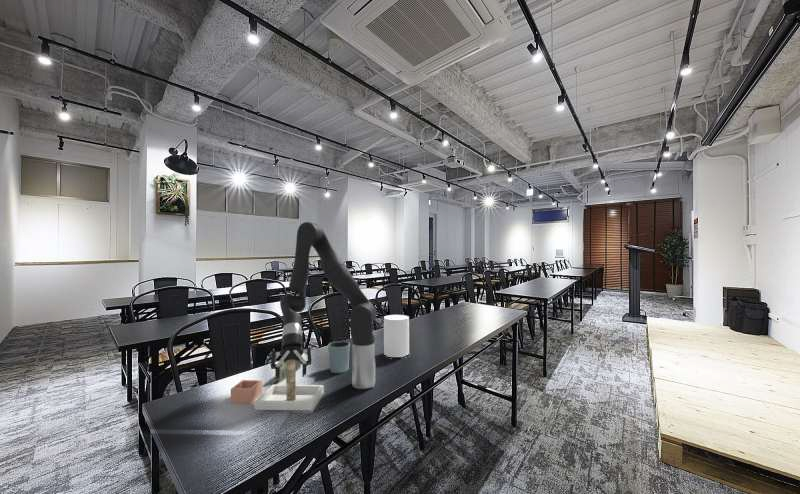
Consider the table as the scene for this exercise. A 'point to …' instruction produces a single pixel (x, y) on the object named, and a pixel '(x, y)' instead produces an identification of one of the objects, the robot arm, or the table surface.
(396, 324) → the canister
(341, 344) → the teal cup
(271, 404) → the tray
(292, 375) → the dowel pin
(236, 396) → the pot
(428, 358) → the table surface
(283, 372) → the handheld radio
